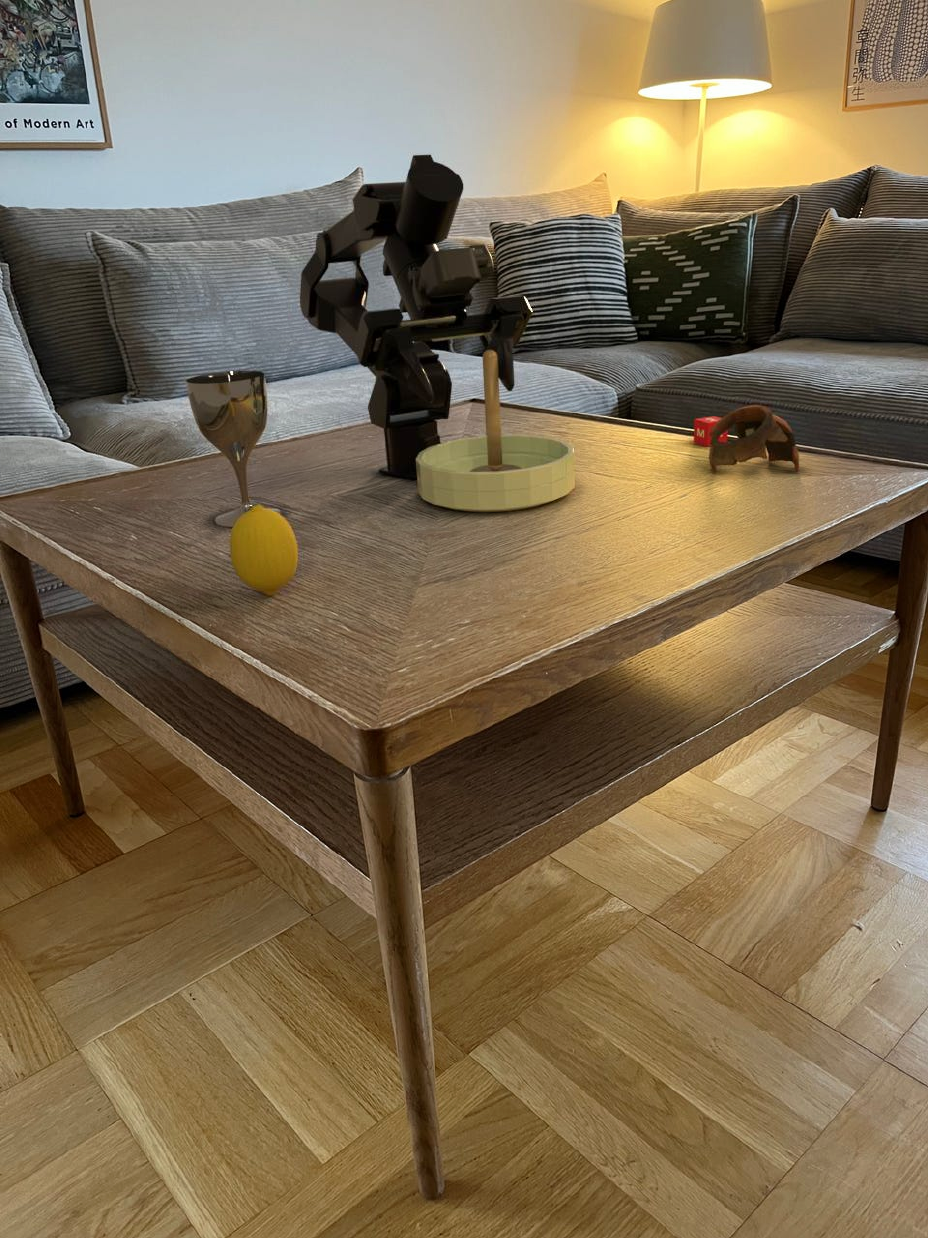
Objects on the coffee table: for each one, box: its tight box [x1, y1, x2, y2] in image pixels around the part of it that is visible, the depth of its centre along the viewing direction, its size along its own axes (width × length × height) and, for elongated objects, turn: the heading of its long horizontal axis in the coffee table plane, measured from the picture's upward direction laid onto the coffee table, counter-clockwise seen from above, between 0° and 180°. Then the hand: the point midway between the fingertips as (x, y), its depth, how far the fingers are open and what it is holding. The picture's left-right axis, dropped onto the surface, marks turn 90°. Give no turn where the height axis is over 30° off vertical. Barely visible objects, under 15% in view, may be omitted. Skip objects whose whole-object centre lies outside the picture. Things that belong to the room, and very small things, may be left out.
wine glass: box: [185, 370, 282, 528], centre depth 97 cm, size 8×8×15 cm
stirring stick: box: [469, 349, 522, 472], centre depth 99 cm, size 6×6×15 cm
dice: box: [693, 415, 729, 448], centre depth 117 cm, size 3×3×3 cm
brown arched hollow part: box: [708, 404, 801, 473], centre depth 104 cm, size 12×10×8 cm
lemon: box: [229, 504, 299, 597], centre depth 76 cm, size 6×6×8 cm
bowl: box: [416, 434, 576, 513], centre depth 102 cm, size 17×17×4 cm
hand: (472, 394), depth 94 cm, fingers open, 9 cm apart
